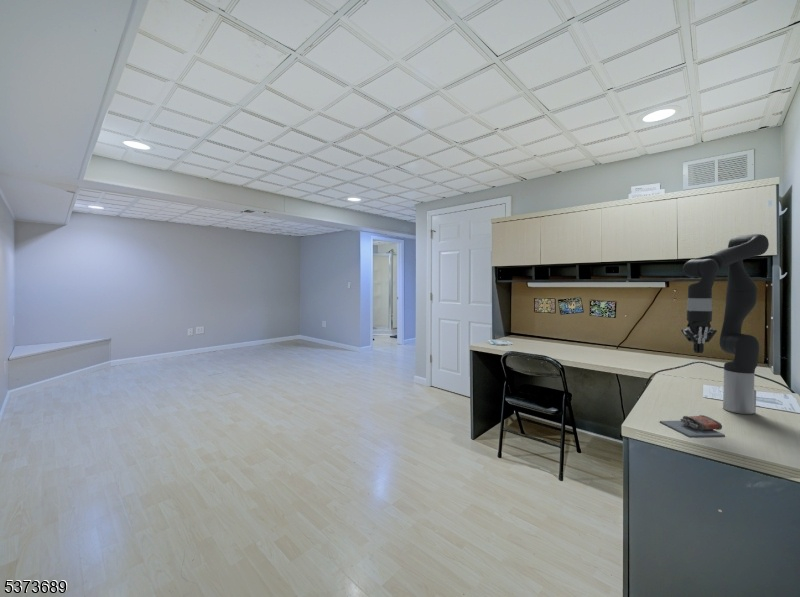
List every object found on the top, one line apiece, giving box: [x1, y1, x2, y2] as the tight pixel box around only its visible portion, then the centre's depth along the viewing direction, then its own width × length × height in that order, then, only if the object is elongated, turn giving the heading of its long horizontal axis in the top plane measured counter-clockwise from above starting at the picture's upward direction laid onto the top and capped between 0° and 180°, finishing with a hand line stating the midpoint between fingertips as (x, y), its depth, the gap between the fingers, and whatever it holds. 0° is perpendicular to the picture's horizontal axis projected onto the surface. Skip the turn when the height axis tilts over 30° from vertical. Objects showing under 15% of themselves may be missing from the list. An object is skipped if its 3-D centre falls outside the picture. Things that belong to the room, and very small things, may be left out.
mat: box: [659, 420, 726, 438], centre depth 124 cm, size 13×13×1 cm
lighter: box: [680, 414, 723, 431], centre depth 124 cm, size 8×3×10 cm
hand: (698, 352), depth 133 cm, fingers closed
